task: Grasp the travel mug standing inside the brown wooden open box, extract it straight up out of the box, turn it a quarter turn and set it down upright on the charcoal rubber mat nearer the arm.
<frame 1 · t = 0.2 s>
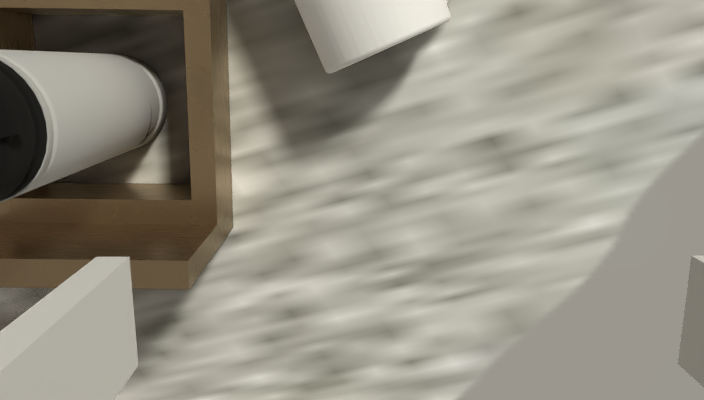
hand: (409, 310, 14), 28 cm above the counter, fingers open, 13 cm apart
brown wooden open box: (123, 101, 41), on the counter
travel mug: (124, 101, 41), resting in brown wooden open box
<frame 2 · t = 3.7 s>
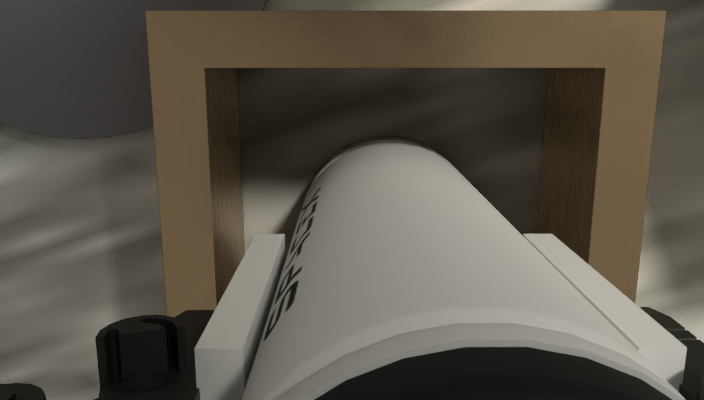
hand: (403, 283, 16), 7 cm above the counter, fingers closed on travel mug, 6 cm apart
brown wooden open box: (390, 217, 23), on the counter
travel mug: (390, 216, 23), resting in brown wooden open box, touching gripper
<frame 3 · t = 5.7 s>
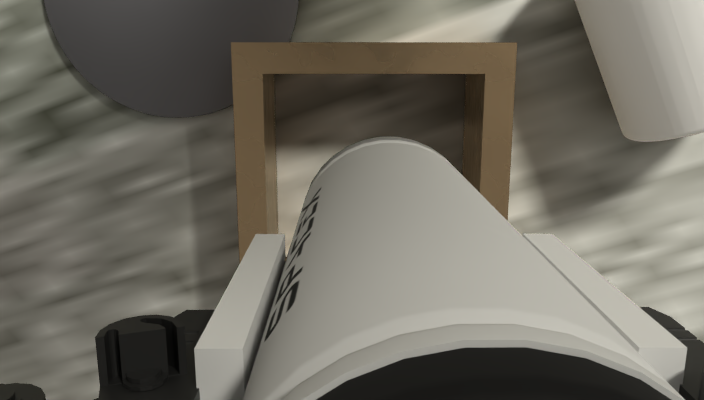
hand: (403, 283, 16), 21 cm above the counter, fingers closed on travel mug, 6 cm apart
mug: (668, 10, 35), on the counter
brown wooden open box: (369, 167, 36), on the counter
travel mug: (390, 216, 23), point 13 cm above the counter, touching gripper
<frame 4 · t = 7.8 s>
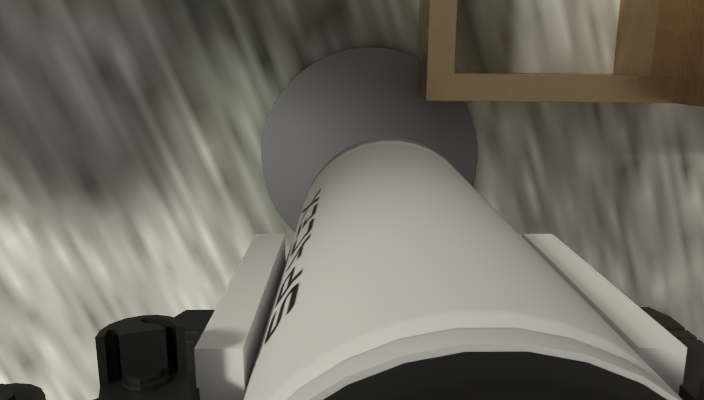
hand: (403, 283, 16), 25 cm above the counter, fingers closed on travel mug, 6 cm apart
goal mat: (369, 157, 40), on the counter
travel mug: (390, 217, 23), point 18 cm above the counter, touching gripper
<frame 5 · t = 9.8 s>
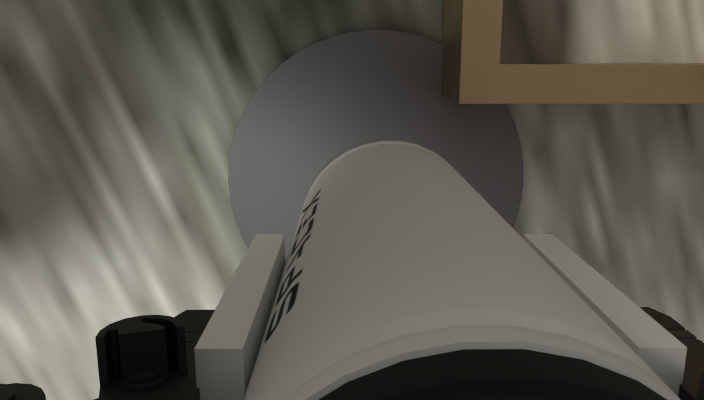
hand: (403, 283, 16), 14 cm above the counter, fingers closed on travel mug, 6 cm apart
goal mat: (375, 180, 30), on the counter
travel mug: (390, 217, 23), point 7 cm above the counter, touching gripper
when the fingers open (9 cm above the counter, at t = 11.6 s): travel mug drops 1 cm, resting on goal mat.
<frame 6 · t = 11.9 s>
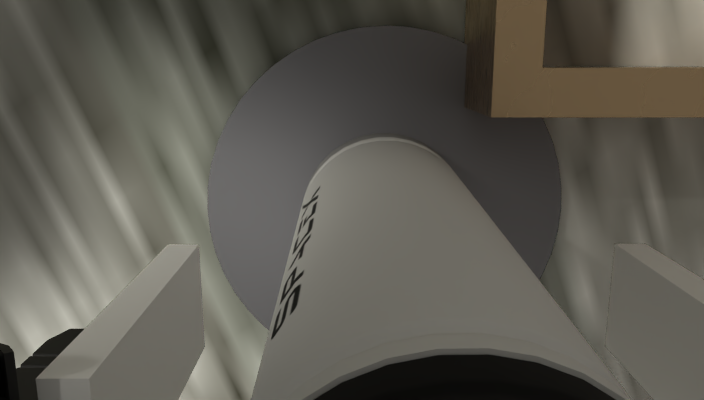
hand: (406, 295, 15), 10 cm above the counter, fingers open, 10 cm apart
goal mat: (383, 206, 25), on the counter
travel mug: (386, 208, 24), resting on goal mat
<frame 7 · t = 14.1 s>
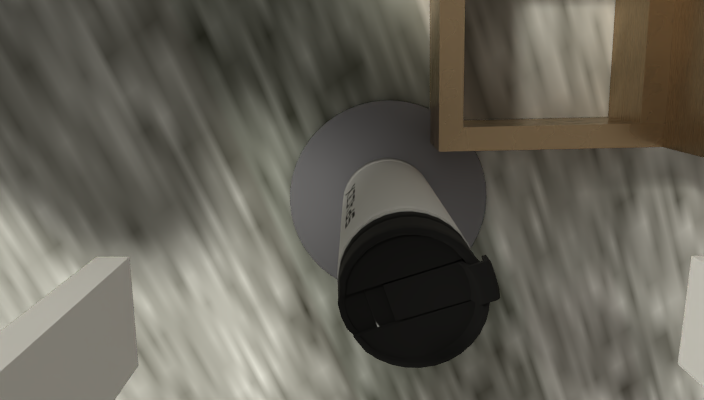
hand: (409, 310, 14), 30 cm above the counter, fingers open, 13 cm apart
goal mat: (387, 198, 44), on the counter
brown wooden open box: (532, 37, 42), on the counter
travel mug: (389, 199, 44), resting on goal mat
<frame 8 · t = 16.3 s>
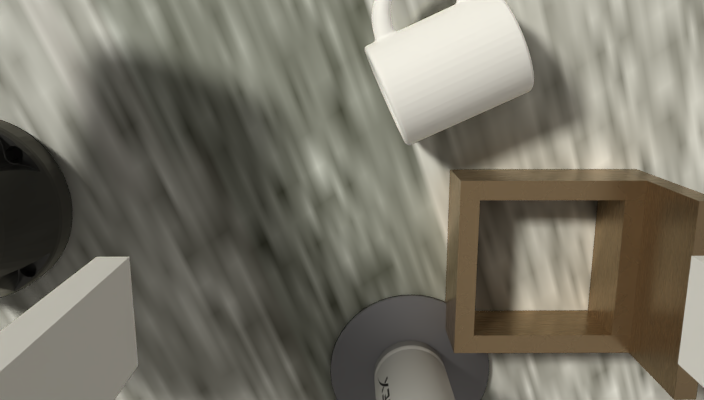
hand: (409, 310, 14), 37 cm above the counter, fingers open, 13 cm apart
mug: (429, 45, 49), on the counter
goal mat: (409, 368, 55), on the counter
brown wooden open box: (529, 250, 52), on the counter
travel mug: (410, 370, 55), resting on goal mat
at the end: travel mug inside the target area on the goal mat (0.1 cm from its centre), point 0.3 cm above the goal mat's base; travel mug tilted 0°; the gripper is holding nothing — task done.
